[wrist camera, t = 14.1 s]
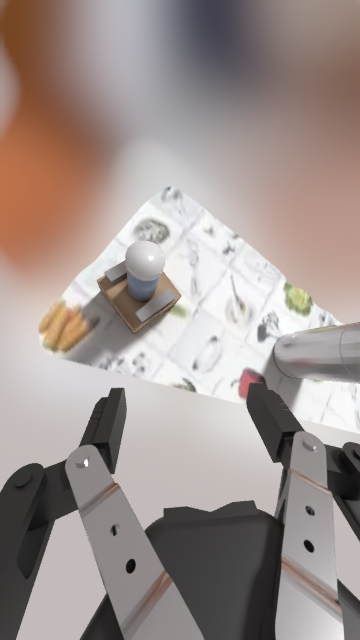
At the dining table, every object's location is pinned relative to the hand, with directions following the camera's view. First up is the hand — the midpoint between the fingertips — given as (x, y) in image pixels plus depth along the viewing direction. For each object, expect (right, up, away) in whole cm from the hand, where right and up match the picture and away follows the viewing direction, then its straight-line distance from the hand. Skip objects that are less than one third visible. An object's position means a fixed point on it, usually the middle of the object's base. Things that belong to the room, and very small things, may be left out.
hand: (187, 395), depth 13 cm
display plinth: (-8, +9, +26) cm, 28 cm away
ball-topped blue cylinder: (-7, +10, +21) cm, 24 cm away
